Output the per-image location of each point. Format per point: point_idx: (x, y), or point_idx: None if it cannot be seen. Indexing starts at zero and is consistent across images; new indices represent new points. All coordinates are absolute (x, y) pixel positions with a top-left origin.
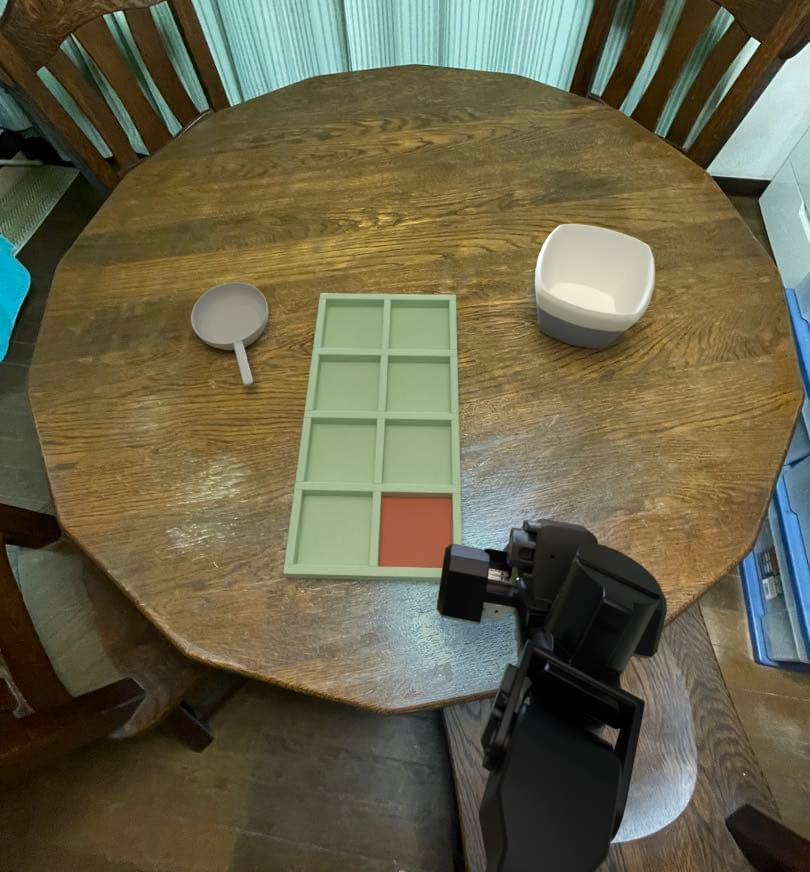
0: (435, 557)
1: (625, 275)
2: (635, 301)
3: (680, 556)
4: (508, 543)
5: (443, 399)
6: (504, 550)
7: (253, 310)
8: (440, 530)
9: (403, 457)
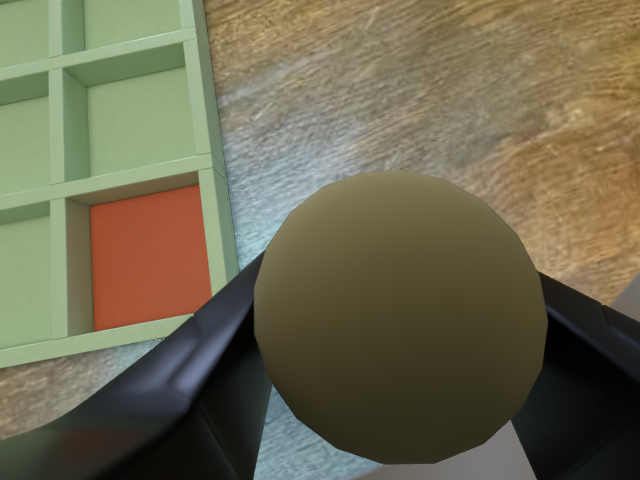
0: (191, 289)
1: None
2: None
3: (625, 192)
4: (242, 270)
5: (179, 23)
6: (178, 332)
7: None
8: (195, 241)
9: (122, 133)
